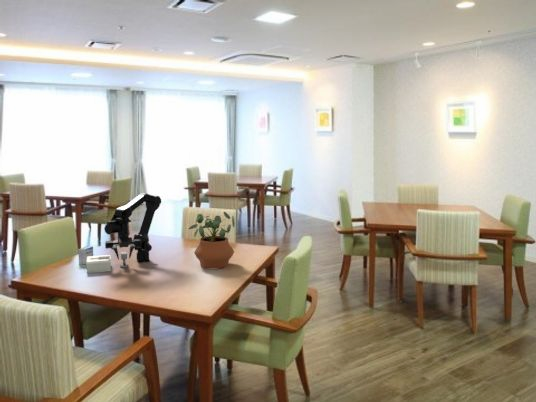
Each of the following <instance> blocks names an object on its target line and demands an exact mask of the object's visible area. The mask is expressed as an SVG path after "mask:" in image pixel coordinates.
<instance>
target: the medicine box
mask: <svg viewBox="0 0 536 402" xmlns="http://www.w3.org/2000/svg"><path fill="white" fill-rule="evenodd" d="M77 251H78V252H77V253H78V264H79V265H86V261H87V256H94V247H93V246H89V245H87V246H84V247H81V248H79V249H78V250H77Z"/></svg>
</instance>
